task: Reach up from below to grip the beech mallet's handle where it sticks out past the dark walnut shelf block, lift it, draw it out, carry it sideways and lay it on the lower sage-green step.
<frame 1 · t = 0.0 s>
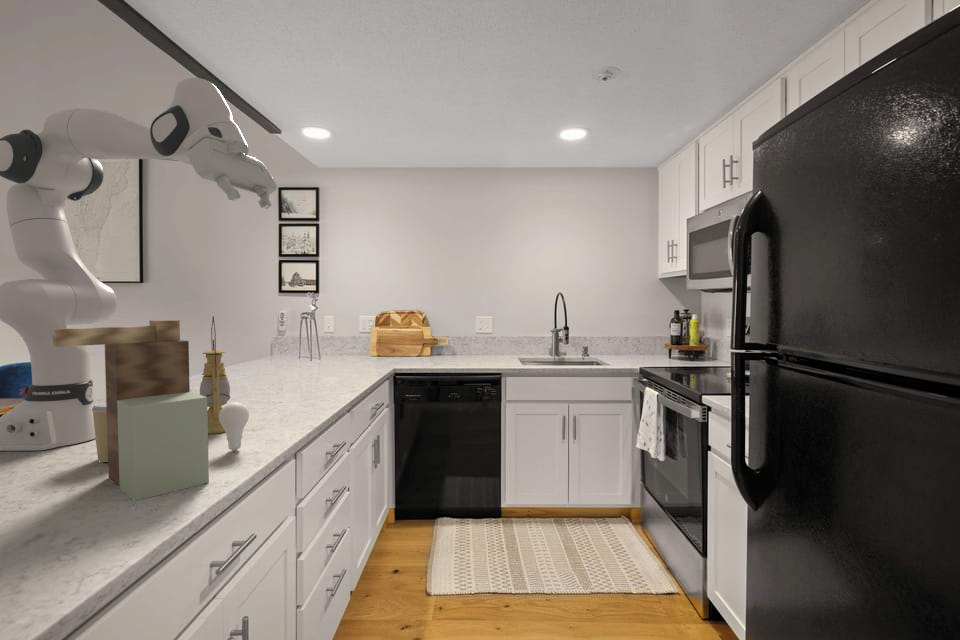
hand: (251, 203, 109), 54 cm above the counter, tool tilted 30°, fingers open, 8 cm apart
lantern: (214, 430, 137), on the counter
beech mallet: (106, 343, 96), point 26 cm above the counter, touching walnut shelf
coffee cup: (120, 458, 113), on the counter
lightbulb: (234, 451, 118), on the counter
sage step: (164, 485, 96), on the counter
walnut shelf: (150, 474, 101), on the counter
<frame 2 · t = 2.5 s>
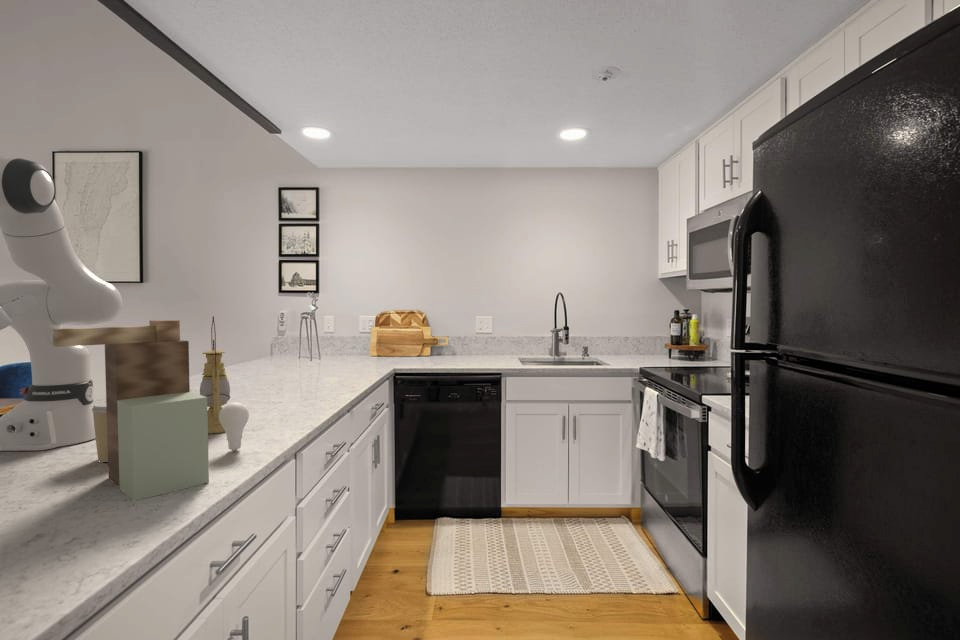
hand: (31, 299, 89), 34 cm above the counter, tool pointing upward, fingers open, 8 cm apart
nothing on the counter moved.
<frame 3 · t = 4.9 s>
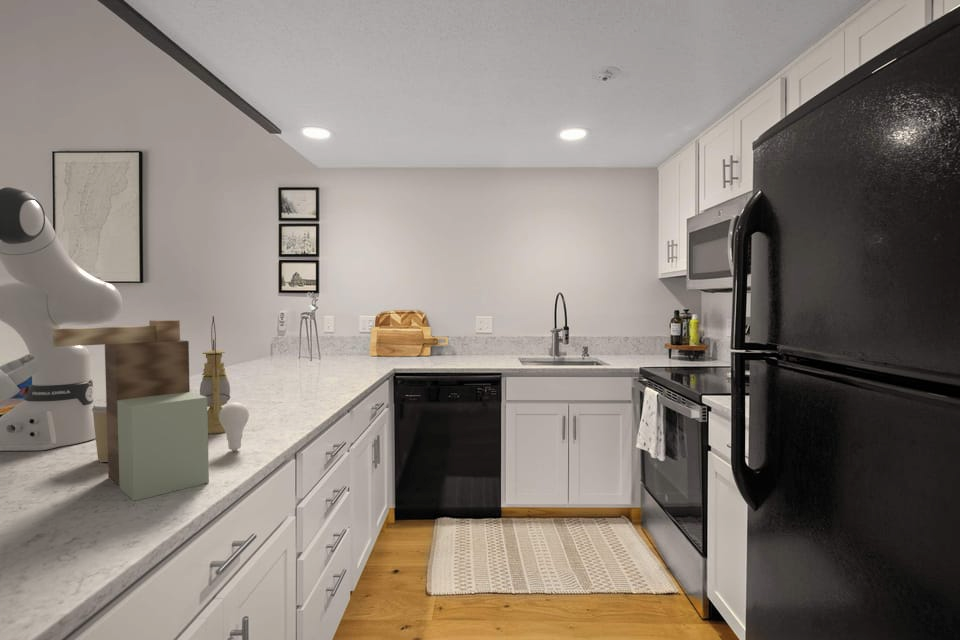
hand: (37, 359, 89), 24 cm above the counter, tool pointing upward, fingers open, 8 cm apart
nothing on the counter moved.
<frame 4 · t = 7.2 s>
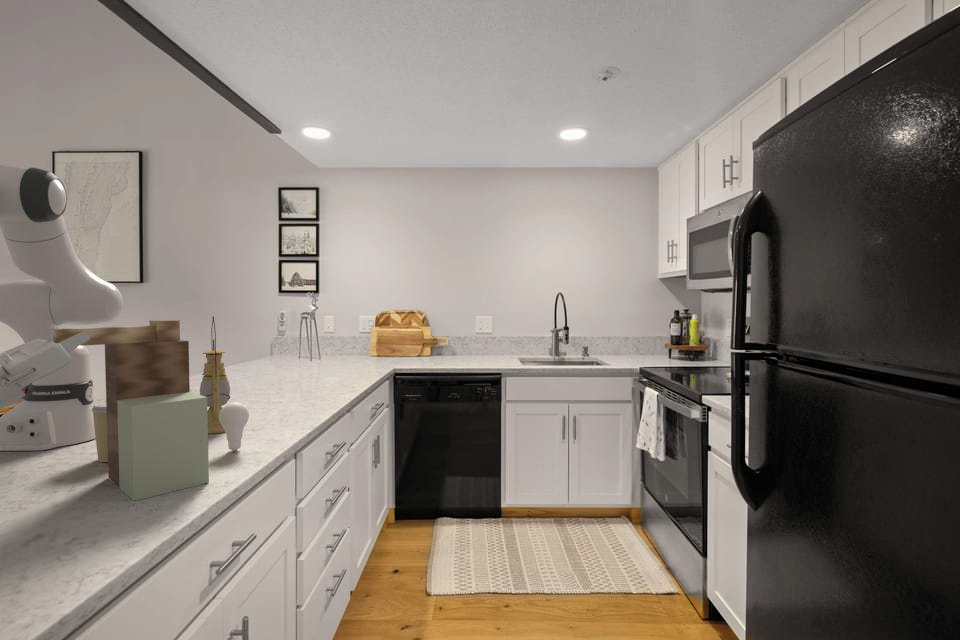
hand: (84, 333, 93), 28 cm above the counter, tool pointing upward, fingers closed on beech mallet, 3 cm apart
beech mallet: (106, 343, 96), point 26 cm above the counter, touching gripper, walnut shelf
everything else where it was.
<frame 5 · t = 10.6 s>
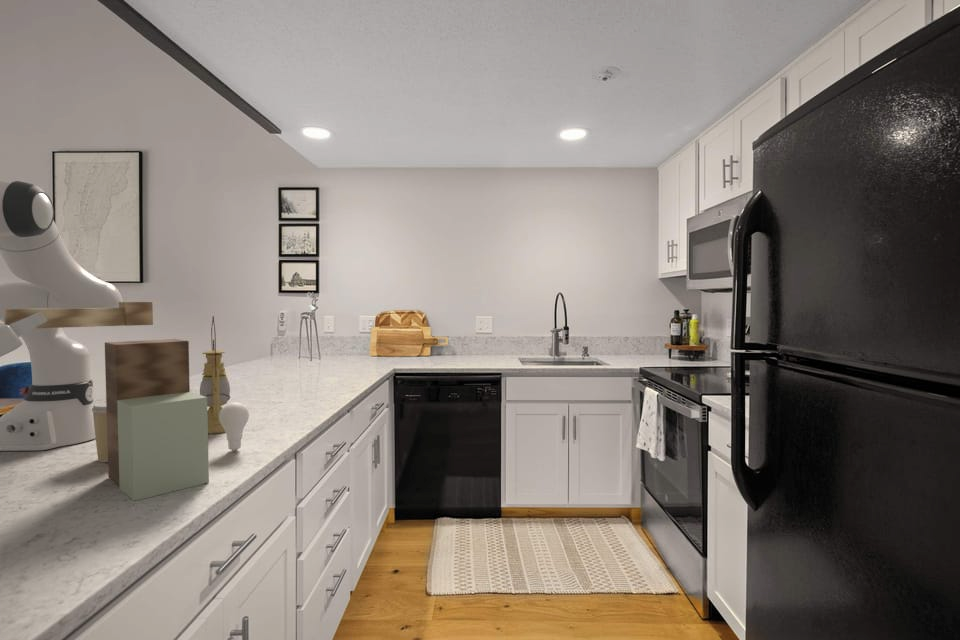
hand: (42, 315, 82), 32 cm above the counter, tool pointing upward, fingers closed on beech mallet, 3 cm apart
beech mallet: (68, 326, 85), point 30 cm above the counter, touching gripper
everything else where it was.
when the fingers open (19 cm above the counter, at t = 14.0 s): beech mallet drops 2 cm, resting on sage step.
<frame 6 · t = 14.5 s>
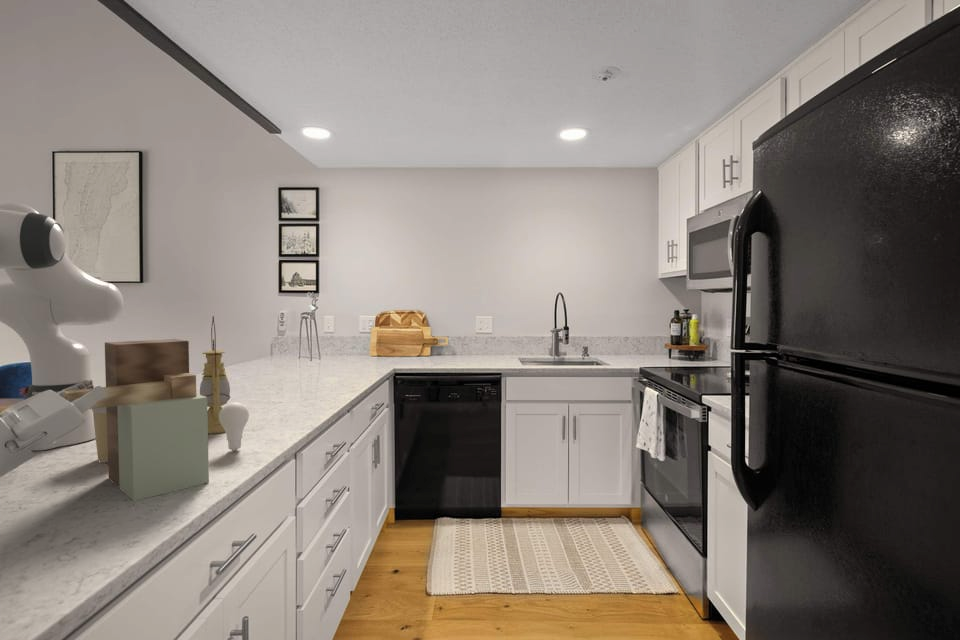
hand: (97, 386, 88), 19 cm above the counter, tool pointing upward, fingers open, 8 cm apart
beech mallet: (120, 404, 90), point 16 cm above the counter, touching sage step
everything else where it was.
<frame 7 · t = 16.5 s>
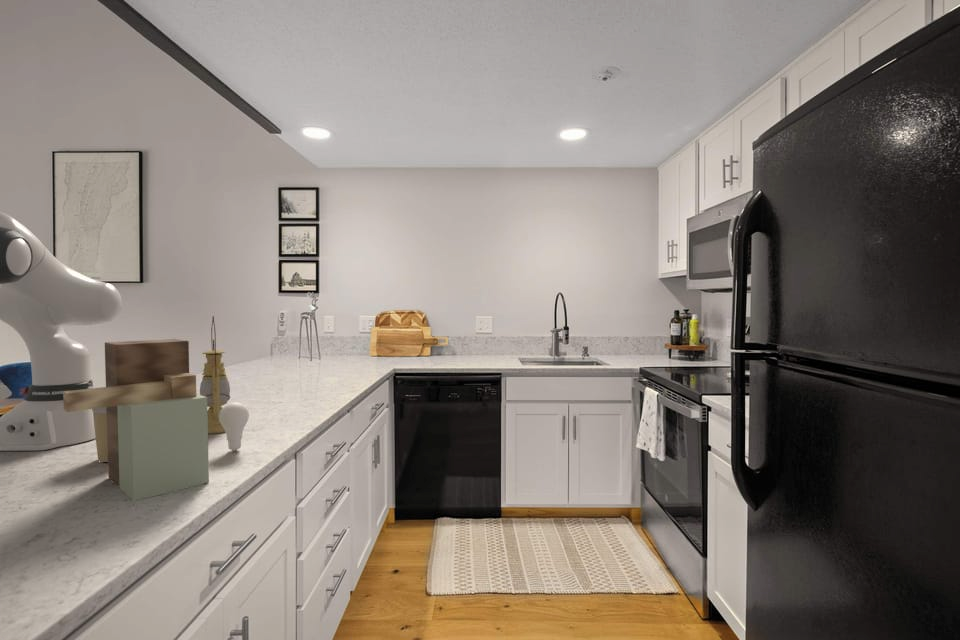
hand: (4, 384, 80), 21 cm above the counter, tool pointing upward, fingers open, 8 cm apart
nothing on the counter moved.
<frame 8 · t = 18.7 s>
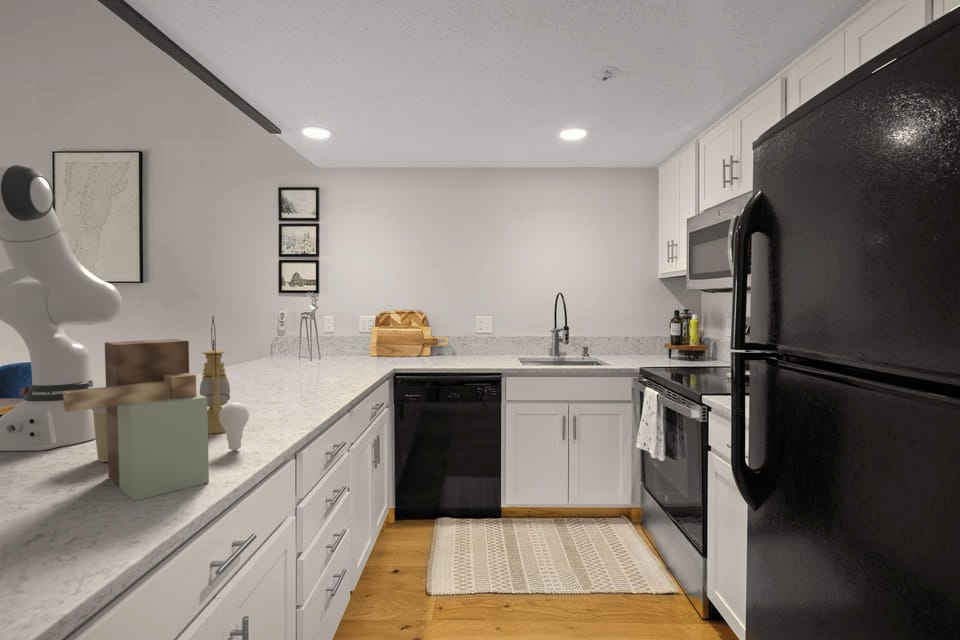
hand: (21, 271, 82), 38 cm above the counter, tool pointing upward, fingers open, 8 cm apart
nothing on the counter moved.
at the end: beech mallet inside the target area (0.3 cm from its centre), point 16.0 cm above the counter; the gripper is holding nothing; beech mallet tilted 0° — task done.
